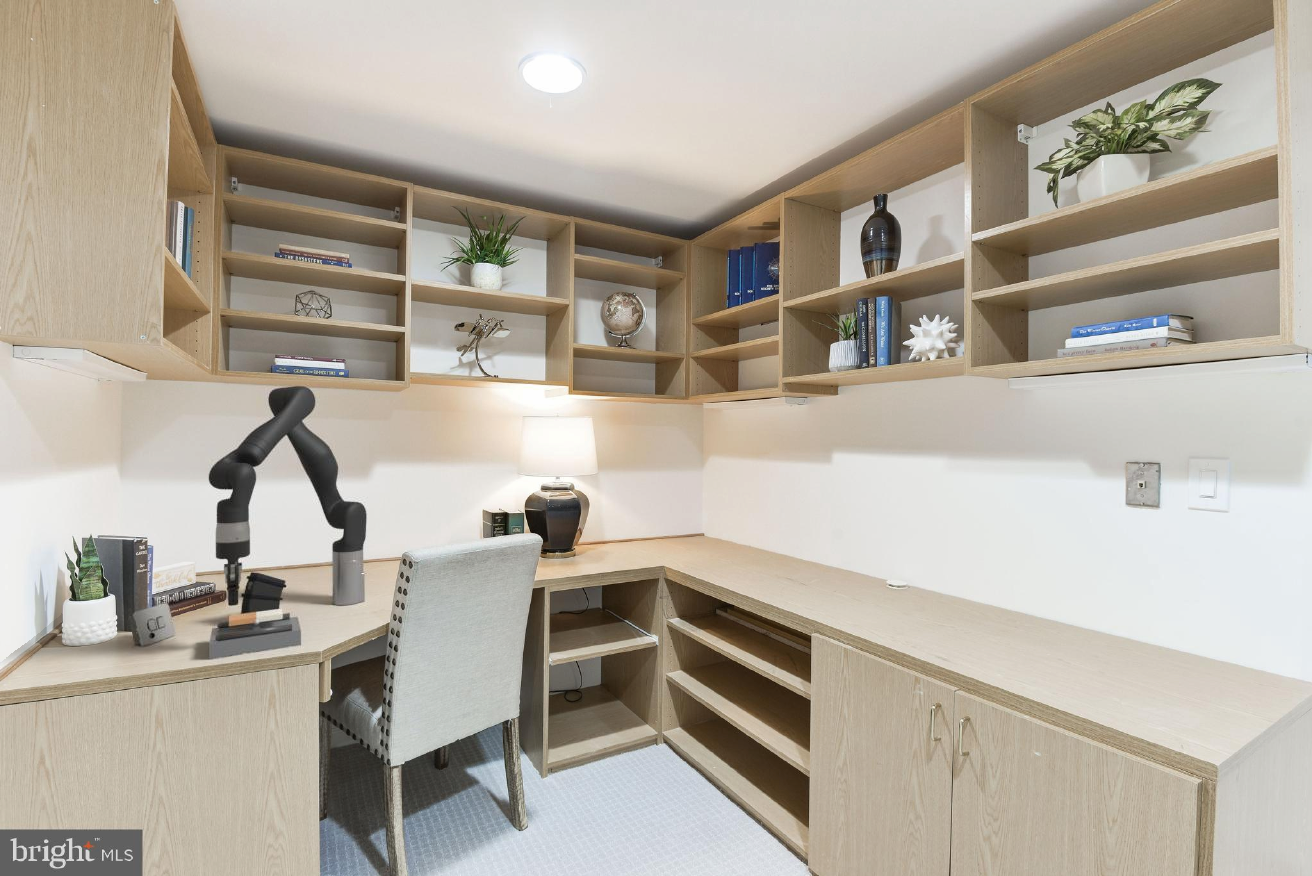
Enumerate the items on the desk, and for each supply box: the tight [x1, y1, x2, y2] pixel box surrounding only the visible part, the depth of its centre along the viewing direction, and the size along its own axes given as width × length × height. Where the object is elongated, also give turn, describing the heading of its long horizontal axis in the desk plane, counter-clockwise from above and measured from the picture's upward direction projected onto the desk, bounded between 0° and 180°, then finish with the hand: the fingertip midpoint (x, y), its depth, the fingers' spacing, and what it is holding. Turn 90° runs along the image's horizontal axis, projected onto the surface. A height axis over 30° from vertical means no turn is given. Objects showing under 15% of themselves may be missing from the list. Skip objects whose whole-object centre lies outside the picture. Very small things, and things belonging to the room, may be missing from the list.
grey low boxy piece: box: [208, 612, 302, 660], centre depth 171 cm, size 20×14×6 cm
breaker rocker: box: [228, 608, 284, 626], centre depth 170 cm, size 12×6×2 cm, turn 122°
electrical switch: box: [127, 603, 177, 647], centre depth 173 cm, size 9×5×9 cm, turn 169°
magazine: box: [240, 571, 287, 614], centre depth 190 cm, size 4×13×15 cm, turn 164°
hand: (233, 604), depth 168 cm, fingers closed
